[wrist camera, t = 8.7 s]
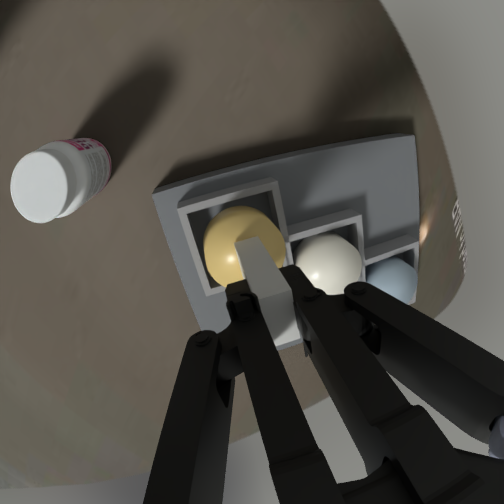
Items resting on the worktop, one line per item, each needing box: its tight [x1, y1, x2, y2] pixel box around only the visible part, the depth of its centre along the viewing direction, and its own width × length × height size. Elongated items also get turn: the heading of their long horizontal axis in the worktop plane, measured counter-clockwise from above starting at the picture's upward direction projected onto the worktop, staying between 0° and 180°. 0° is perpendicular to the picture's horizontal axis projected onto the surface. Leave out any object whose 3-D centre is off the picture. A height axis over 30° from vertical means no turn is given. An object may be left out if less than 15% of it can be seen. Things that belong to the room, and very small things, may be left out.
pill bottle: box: [11, 138, 111, 223], centre depth 16 cm, size 5×5×8 cm
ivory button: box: [292, 231, 362, 295], centre depth 23 cm, size 5×5×2 cm
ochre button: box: [203, 206, 286, 287], centre depth 20 cm, size 5×5×2 cm
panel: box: [152, 133, 419, 351], centre depth 25 cm, size 17×22×4 cm
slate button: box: [365, 255, 418, 304], centre depth 25 cm, size 5×5×2 cm
